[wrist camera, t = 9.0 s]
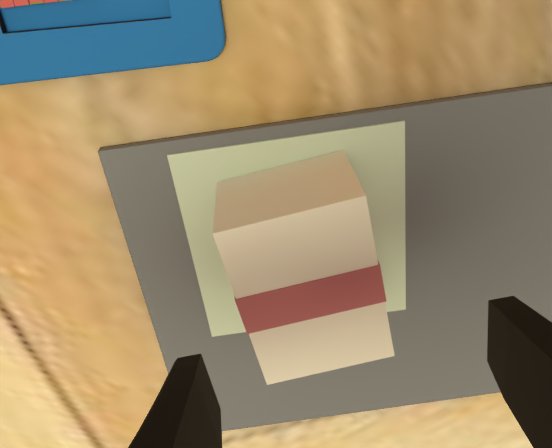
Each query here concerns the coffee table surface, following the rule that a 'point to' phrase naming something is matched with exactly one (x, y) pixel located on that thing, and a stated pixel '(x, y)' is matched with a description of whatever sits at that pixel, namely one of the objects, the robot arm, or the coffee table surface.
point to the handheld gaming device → (104, 36)
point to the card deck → (303, 266)
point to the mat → (387, 237)
